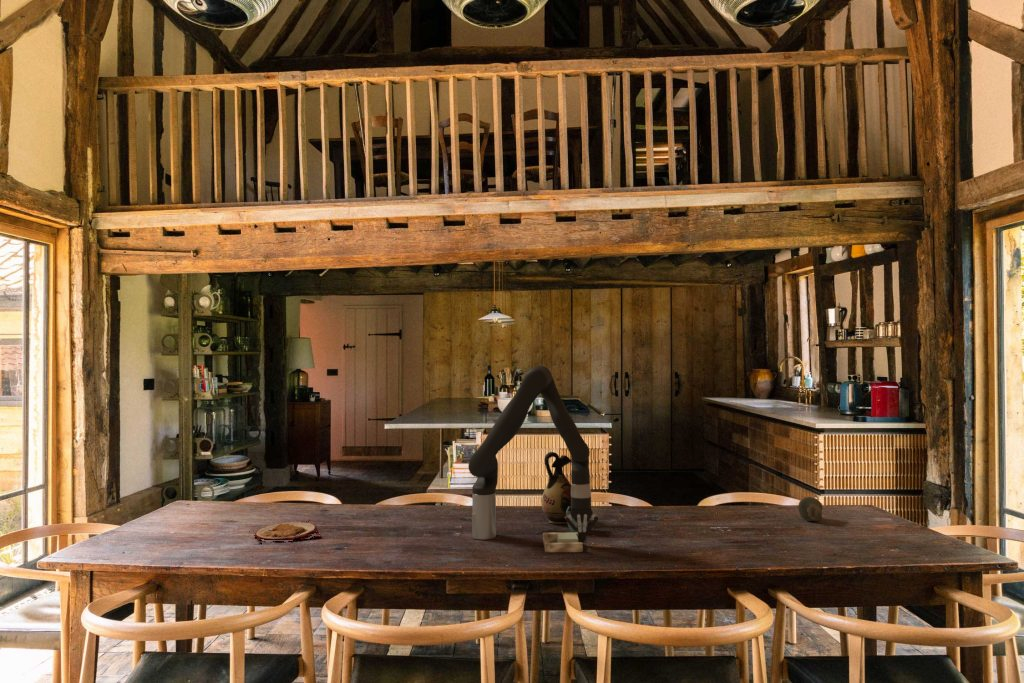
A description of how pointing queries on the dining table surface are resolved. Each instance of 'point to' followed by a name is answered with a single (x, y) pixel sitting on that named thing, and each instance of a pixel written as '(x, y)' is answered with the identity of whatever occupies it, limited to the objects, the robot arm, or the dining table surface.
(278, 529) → the plate with food
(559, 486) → the ceramic jug
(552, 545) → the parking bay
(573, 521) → the flower pot
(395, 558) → the dining table surface
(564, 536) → the cream footed box
